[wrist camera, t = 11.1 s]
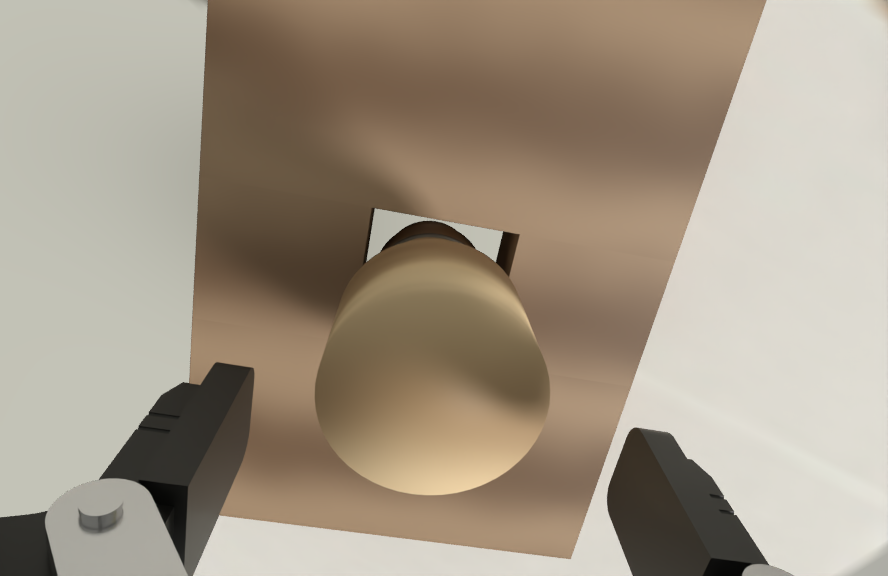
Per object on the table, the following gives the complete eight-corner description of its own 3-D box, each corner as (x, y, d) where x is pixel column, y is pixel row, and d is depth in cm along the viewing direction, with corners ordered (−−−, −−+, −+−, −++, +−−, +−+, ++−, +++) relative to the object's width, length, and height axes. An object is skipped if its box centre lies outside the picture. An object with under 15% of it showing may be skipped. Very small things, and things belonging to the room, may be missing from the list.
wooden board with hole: (245, -108, 19) (214, -136, 16) (721, 1, 21) (768, -7, 18) (208, 462, 27) (182, 510, 24) (555, 509, 28) (570, 559, 26)
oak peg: (367, 179, 22) (330, 272, 13) (514, 206, 23) (577, 313, 14) (347, 315, 24) (302, 479, 15) (482, 337, 25) (519, 508, 16)
